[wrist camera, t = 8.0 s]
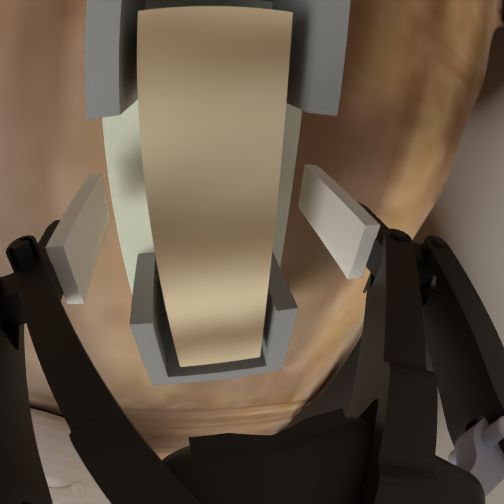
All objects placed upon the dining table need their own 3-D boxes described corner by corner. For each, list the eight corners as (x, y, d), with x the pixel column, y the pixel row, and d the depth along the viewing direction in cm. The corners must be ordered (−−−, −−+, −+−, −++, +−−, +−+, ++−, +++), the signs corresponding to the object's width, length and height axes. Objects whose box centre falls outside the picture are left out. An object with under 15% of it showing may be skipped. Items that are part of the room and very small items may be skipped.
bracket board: (110, -13, 9) (68, -52, 4) (306, -10, 12) (376, -35, 6) (141, 313, 23) (139, 389, 18) (269, 302, 26) (294, 371, 20)
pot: (112, 460, 49) (118, 522, 36) (5, 432, 37) (1, 495, 24) (131, 419, 36) (140, 521, 23) (-30, 372, 24) (-48, 469, 11)
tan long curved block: (154, 30, 11) (138, 10, 6) (252, 28, 12) (292, 12, 7) (175, 299, 22) (180, 367, 17) (241, 292, 23) (259, 357, 18)
